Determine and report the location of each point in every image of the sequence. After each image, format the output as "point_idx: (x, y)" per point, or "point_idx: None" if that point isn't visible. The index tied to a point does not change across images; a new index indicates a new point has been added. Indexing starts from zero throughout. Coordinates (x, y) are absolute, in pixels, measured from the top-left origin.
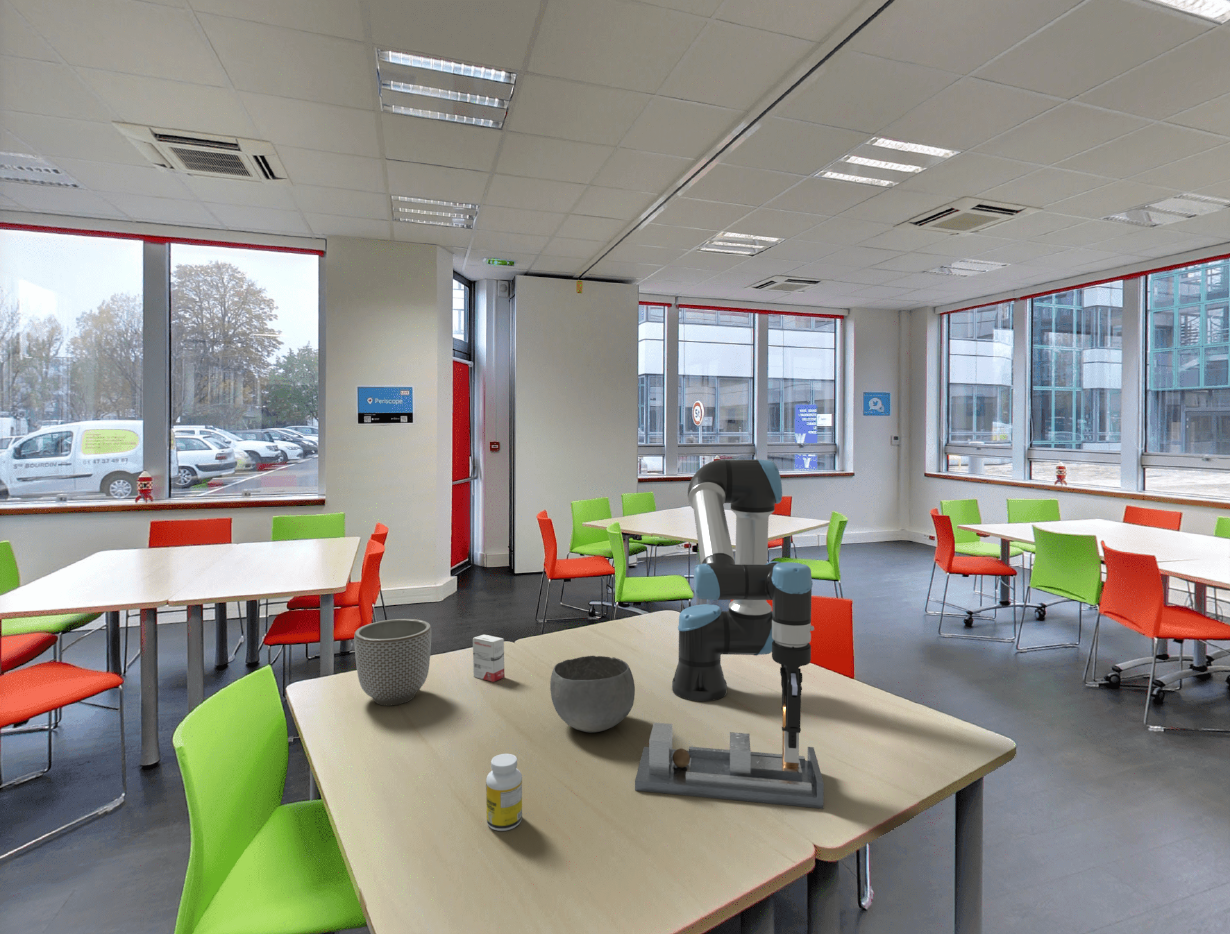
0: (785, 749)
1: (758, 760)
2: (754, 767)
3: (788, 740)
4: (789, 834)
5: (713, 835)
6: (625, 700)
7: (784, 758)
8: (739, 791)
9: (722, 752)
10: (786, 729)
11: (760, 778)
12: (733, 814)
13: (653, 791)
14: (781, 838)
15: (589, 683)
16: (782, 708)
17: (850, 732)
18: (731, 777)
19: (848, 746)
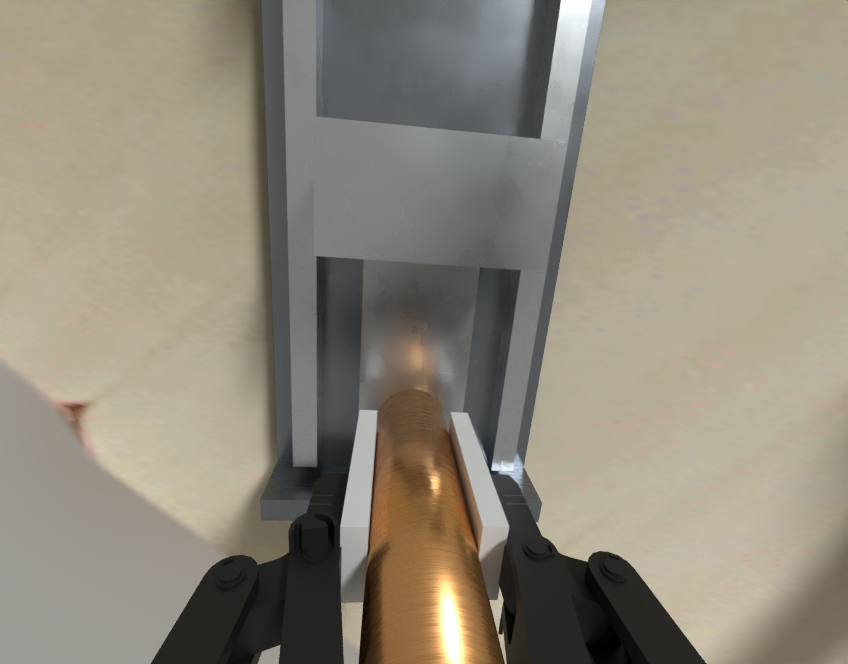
0: (355, 447)
1: (438, 293)
2: (370, 267)
3: (335, 497)
4: (113, 341)
5: (2, 50)
6: None
7: (364, 417)
8: (268, 185)
9: (542, 123)
10: (219, 570)
11: (313, 285)
12: (179, 153)
13: None
14: (80, 313)
15: None
16: (596, 578)
17: (736, 591)
18: (298, 147)
19: (654, 574)
